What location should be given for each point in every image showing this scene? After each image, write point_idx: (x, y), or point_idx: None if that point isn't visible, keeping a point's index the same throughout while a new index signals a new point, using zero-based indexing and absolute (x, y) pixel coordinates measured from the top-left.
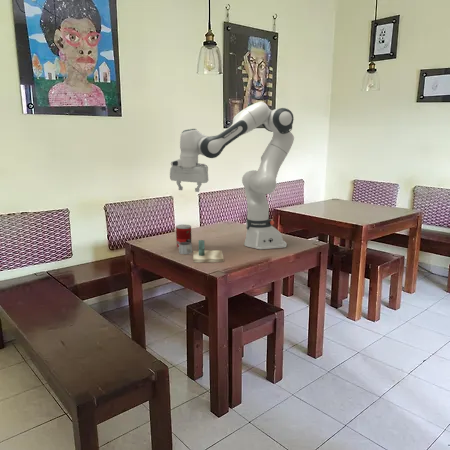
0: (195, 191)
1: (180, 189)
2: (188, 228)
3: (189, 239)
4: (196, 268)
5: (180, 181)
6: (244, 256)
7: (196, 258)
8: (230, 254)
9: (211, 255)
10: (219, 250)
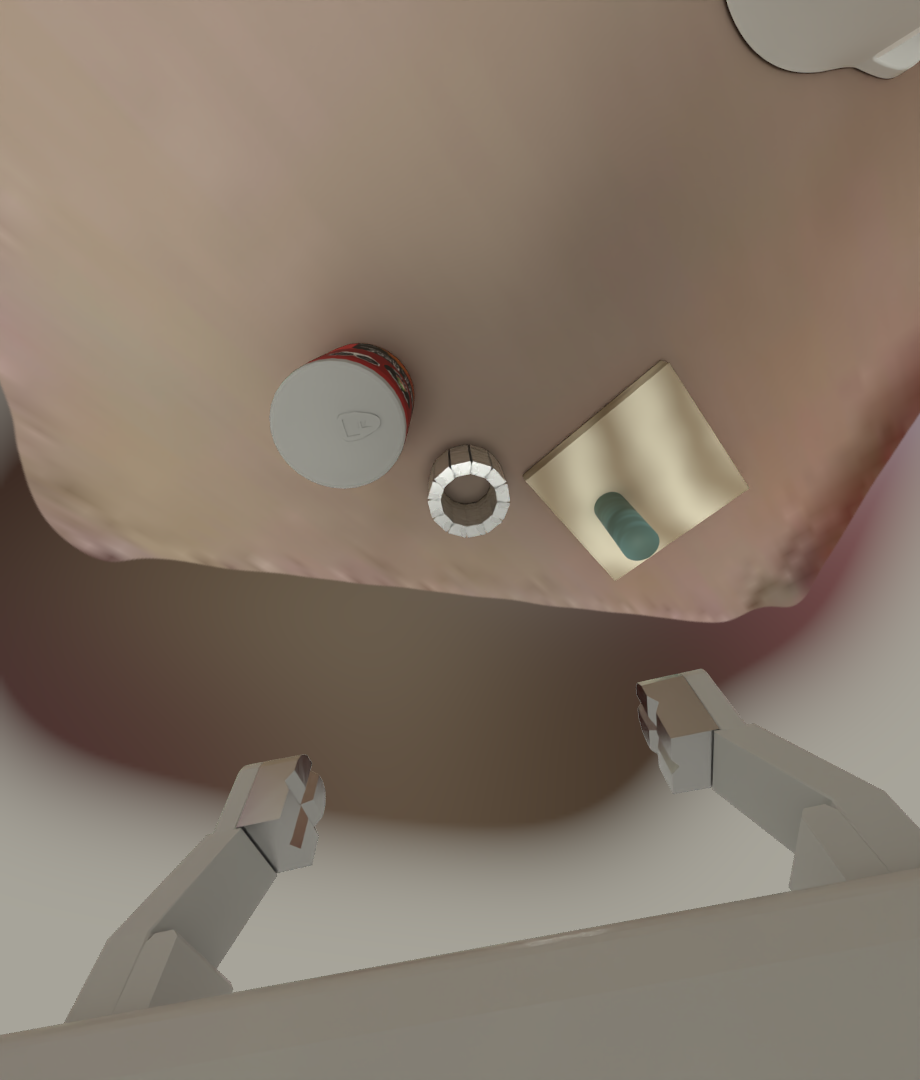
0: (644, 722)
1: (311, 809)
2: (405, 433)
3: (411, 404)
4: (664, 612)
5: (174, 1002)
6: (821, 323)
7: (620, 562)
8: (722, 345)
9: (663, 483)
10: (658, 375)
